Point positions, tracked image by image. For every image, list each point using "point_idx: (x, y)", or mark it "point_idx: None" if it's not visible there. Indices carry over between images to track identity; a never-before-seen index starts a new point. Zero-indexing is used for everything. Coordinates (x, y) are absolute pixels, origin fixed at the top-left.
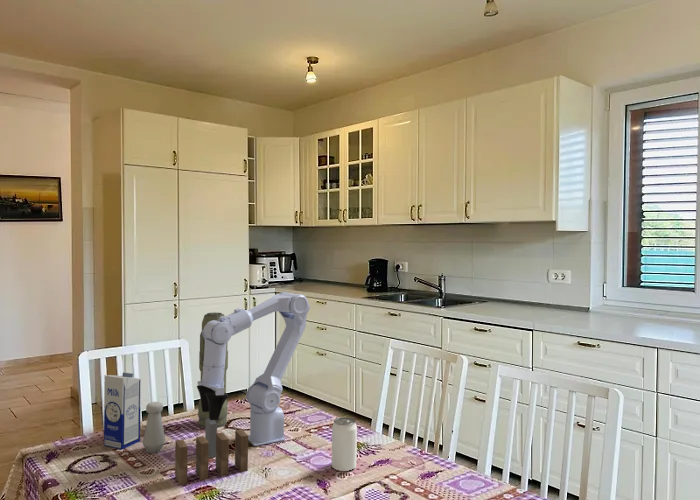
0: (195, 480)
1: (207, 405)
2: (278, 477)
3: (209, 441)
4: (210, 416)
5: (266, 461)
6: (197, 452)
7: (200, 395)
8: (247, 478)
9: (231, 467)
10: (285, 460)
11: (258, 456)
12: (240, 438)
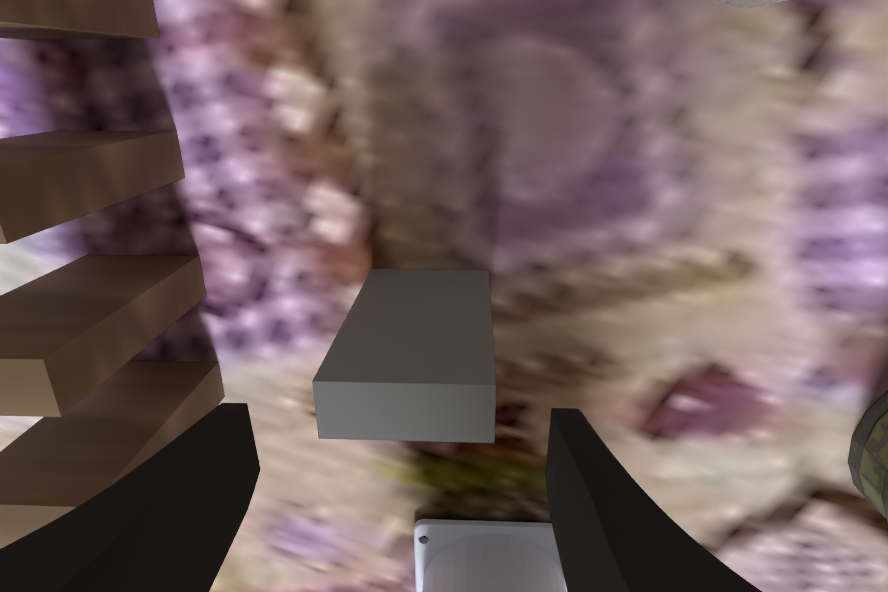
0: (70, 102)
1: (560, 502)
2: None
3: (367, 309)
4: (192, 426)
5: None
6: (31, 150)
7: (646, 547)
8: None
9: (190, 337)
10: None
11: (283, 491)
12: None
